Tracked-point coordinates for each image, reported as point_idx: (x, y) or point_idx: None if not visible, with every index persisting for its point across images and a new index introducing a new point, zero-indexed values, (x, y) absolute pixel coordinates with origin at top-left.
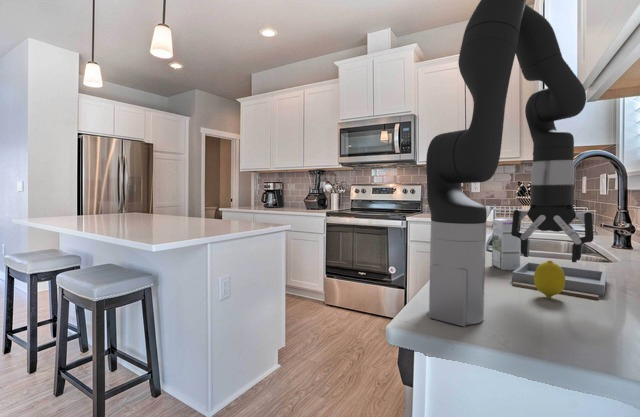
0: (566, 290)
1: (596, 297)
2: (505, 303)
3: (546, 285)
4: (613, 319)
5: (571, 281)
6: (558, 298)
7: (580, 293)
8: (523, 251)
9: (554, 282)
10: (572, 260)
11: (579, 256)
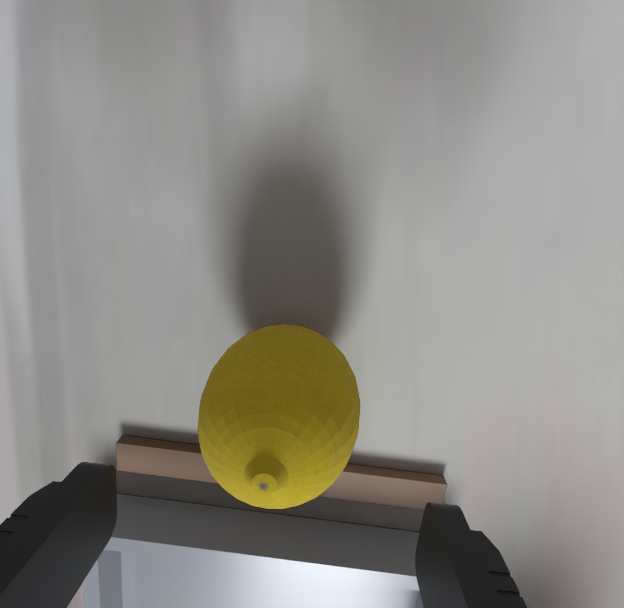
0: None
1: (123, 441)
2: (473, 132)
3: (294, 328)
4: (54, 175)
5: (203, 545)
6: None
7: (177, 461)
8: (475, 549)
9: (253, 336)
10: (101, 469)
11: (30, 504)
